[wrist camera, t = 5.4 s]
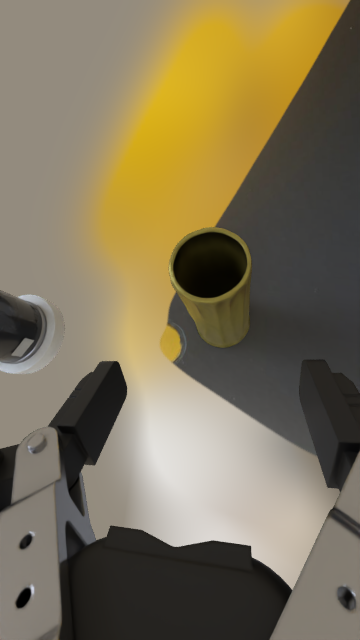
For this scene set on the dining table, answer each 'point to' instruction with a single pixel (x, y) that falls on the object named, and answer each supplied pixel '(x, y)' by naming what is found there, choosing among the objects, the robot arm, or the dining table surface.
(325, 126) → the dining table surface
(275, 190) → the dining table surface
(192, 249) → the vase
